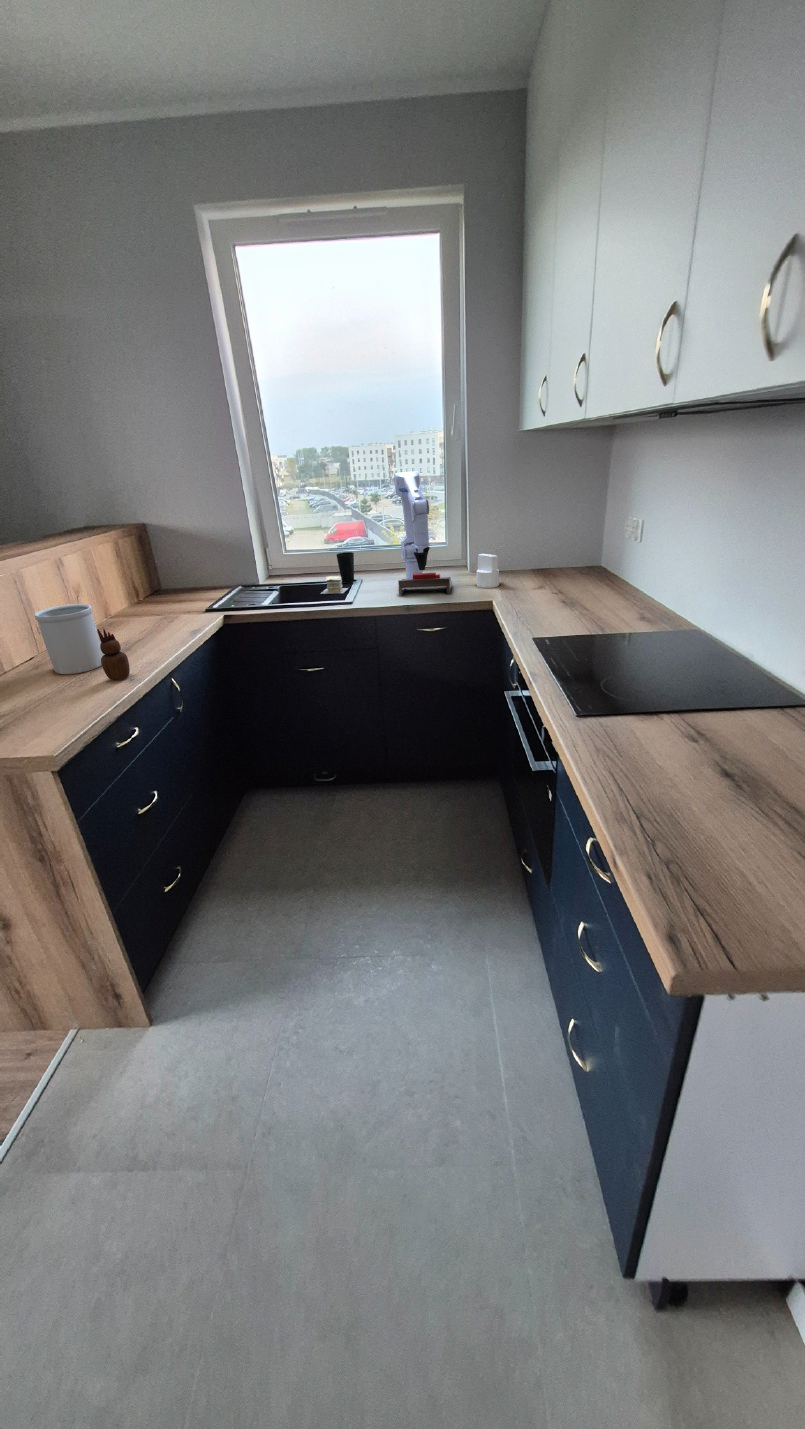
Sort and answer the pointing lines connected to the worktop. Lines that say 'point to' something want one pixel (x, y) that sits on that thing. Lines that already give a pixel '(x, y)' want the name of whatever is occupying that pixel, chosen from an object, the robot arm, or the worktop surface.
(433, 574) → the crayon
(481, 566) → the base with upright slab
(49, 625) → the utensil holder
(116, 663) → the wooden figurine
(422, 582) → the shelf
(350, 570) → the cup
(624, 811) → the worktop surface
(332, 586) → the stacked layers on plate
